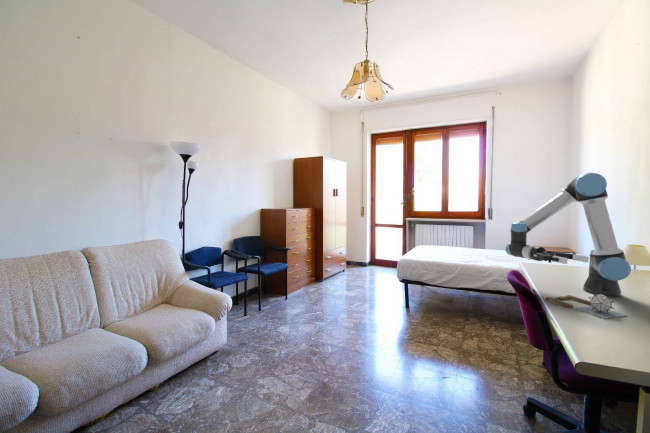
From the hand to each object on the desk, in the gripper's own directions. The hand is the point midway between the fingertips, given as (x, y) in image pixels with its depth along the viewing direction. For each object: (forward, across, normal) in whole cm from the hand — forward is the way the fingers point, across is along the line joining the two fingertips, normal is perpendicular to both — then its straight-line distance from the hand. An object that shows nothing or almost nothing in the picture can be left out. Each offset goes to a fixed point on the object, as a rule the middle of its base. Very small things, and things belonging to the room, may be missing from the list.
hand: (577, 260), depth 141 cm
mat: (+10, 0, -21) cm, 23 cm away
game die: (+10, 0, -21) cm, 23 cm away
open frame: (-3, 0, -21) cm, 21 cm away
